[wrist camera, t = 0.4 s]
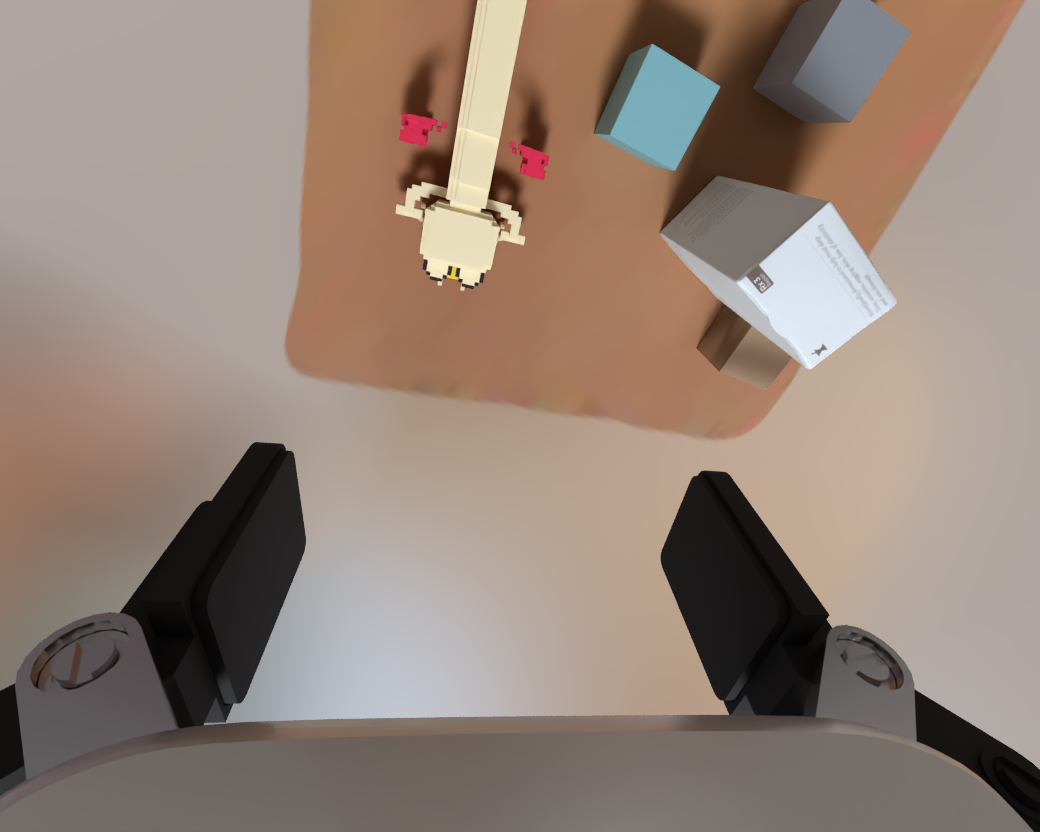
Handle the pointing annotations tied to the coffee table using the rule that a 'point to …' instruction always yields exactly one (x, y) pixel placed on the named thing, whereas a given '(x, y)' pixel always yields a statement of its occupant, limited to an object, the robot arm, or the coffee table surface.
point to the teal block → (656, 107)
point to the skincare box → (780, 265)
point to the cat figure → (473, 156)
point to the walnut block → (742, 350)
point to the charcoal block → (830, 59)
